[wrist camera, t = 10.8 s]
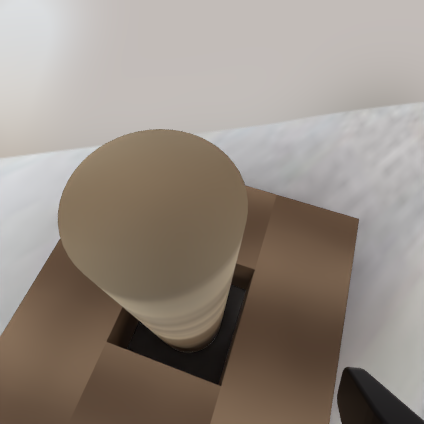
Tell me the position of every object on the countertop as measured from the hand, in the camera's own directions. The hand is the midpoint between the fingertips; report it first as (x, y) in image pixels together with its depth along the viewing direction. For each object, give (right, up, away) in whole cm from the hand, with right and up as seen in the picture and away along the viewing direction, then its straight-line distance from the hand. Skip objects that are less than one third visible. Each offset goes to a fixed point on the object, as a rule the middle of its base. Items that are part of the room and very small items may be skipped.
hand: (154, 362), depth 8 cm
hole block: (0, -2, +10) cm, 11 cm away
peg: (0, -2, +10) cm, 11 cm away
